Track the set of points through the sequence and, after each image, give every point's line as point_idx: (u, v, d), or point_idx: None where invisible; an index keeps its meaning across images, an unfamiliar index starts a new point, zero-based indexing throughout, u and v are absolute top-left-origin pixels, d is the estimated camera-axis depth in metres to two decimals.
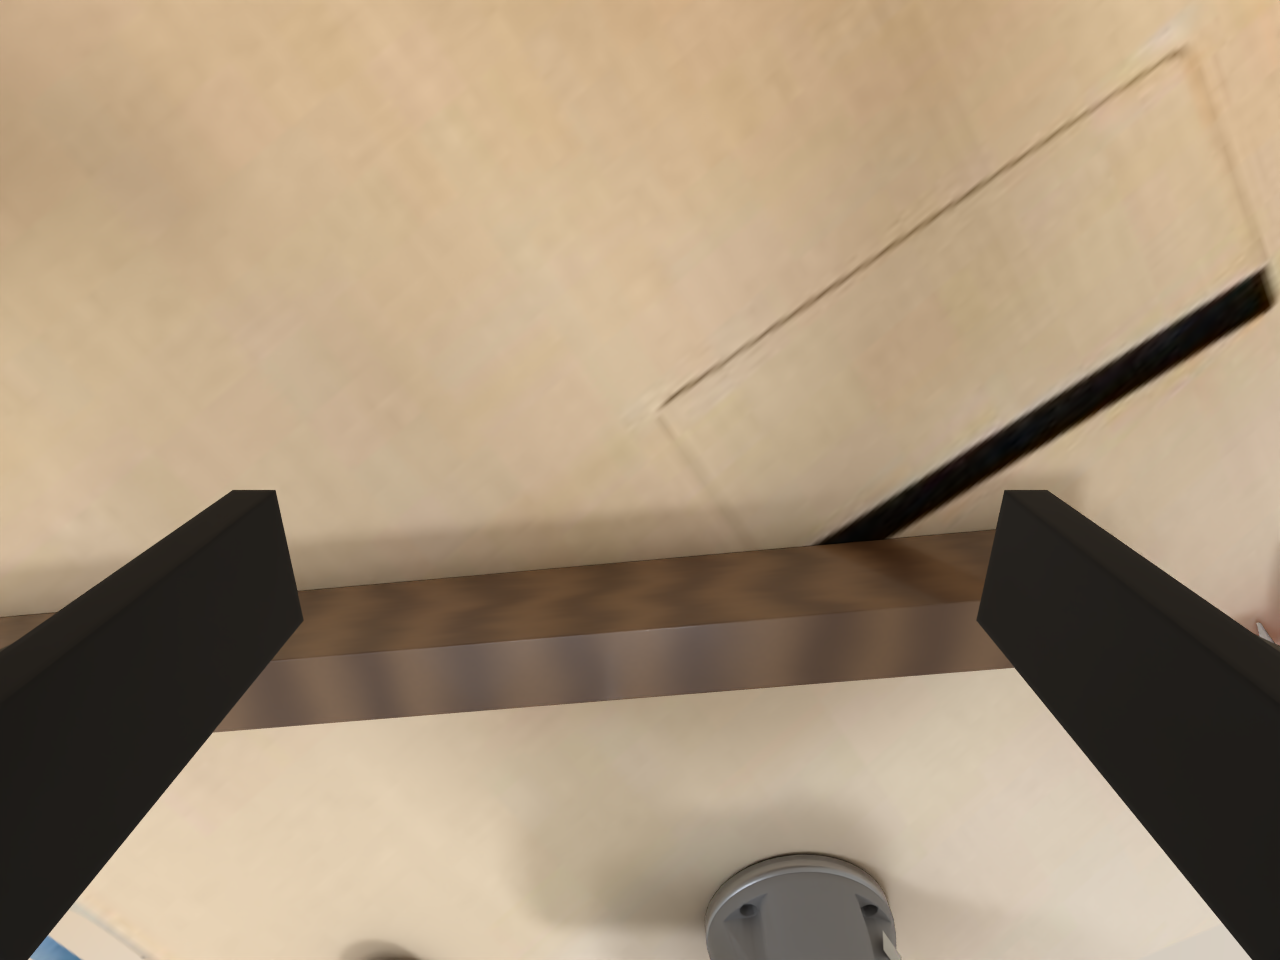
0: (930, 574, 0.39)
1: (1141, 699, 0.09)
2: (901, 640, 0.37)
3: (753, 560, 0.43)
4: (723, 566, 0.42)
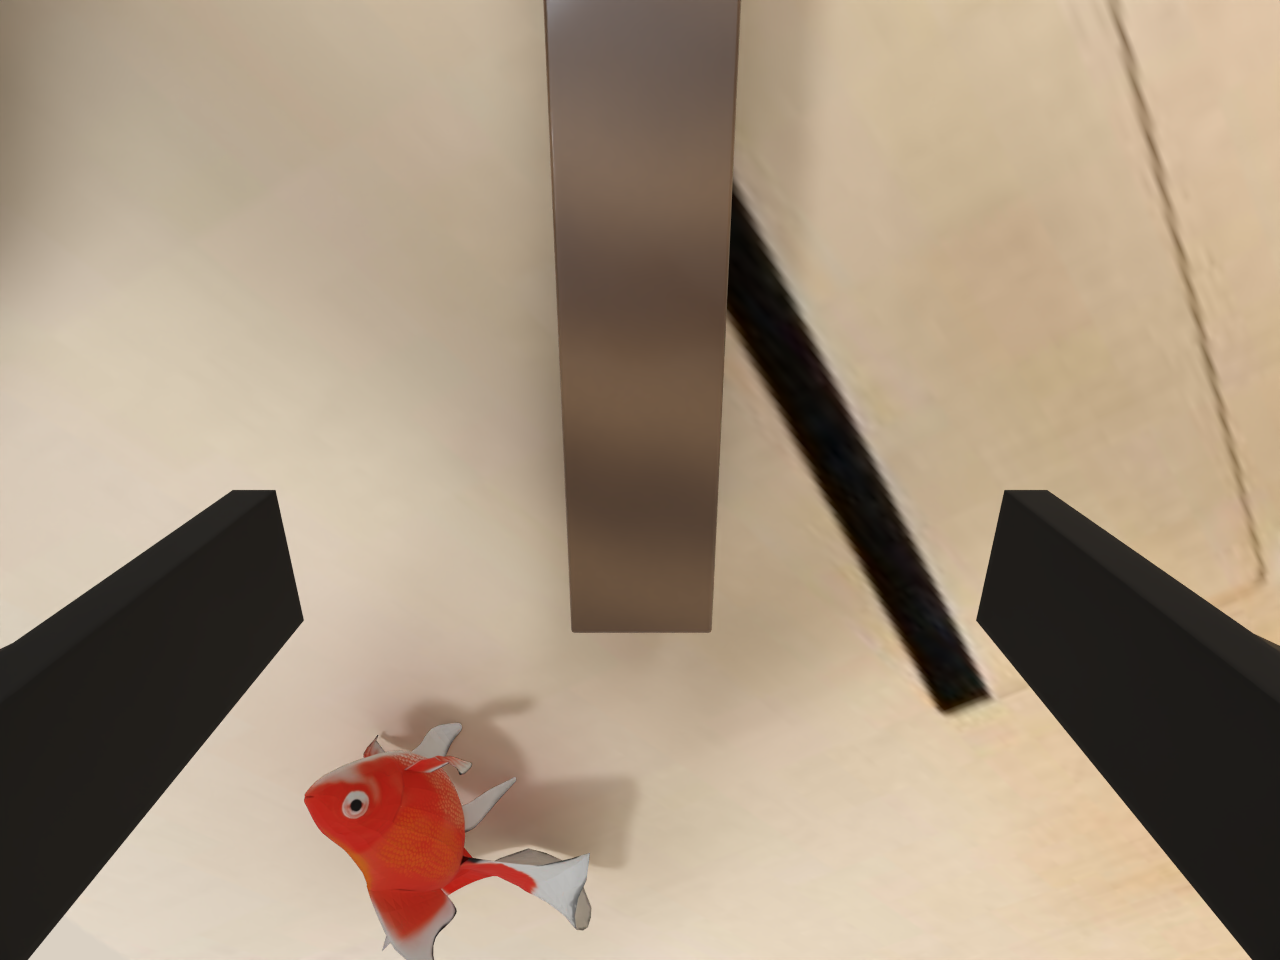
0: None
1: (1141, 699, 0.09)
2: (648, 220, 0.18)
3: None
4: None
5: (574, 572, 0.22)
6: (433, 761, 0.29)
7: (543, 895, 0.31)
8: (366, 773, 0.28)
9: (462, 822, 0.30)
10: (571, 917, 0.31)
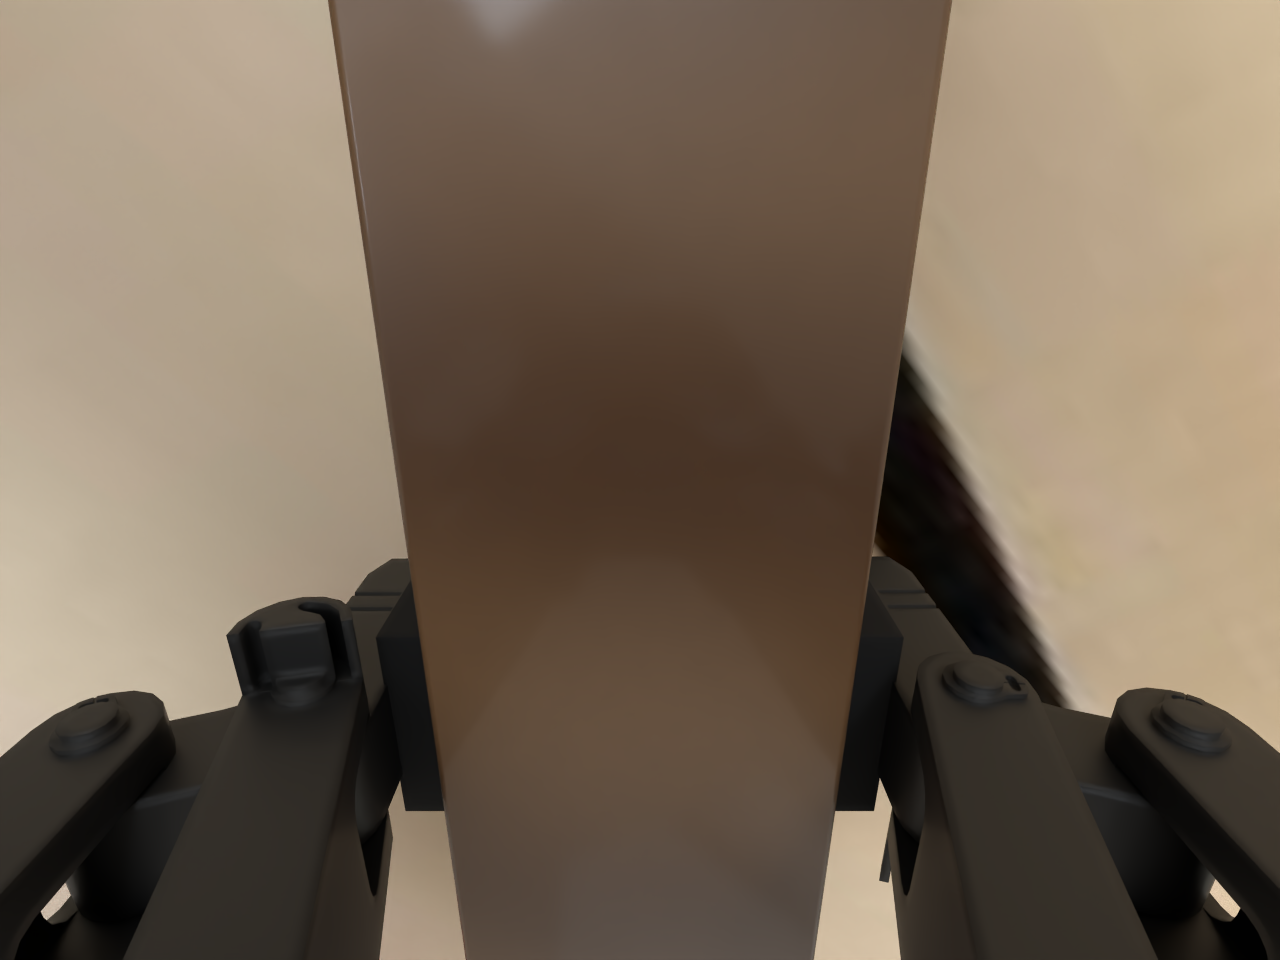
0: None
1: None
2: (661, 249, 0.06)
3: None
4: None
5: None
6: None
7: None
8: None
9: None
10: None
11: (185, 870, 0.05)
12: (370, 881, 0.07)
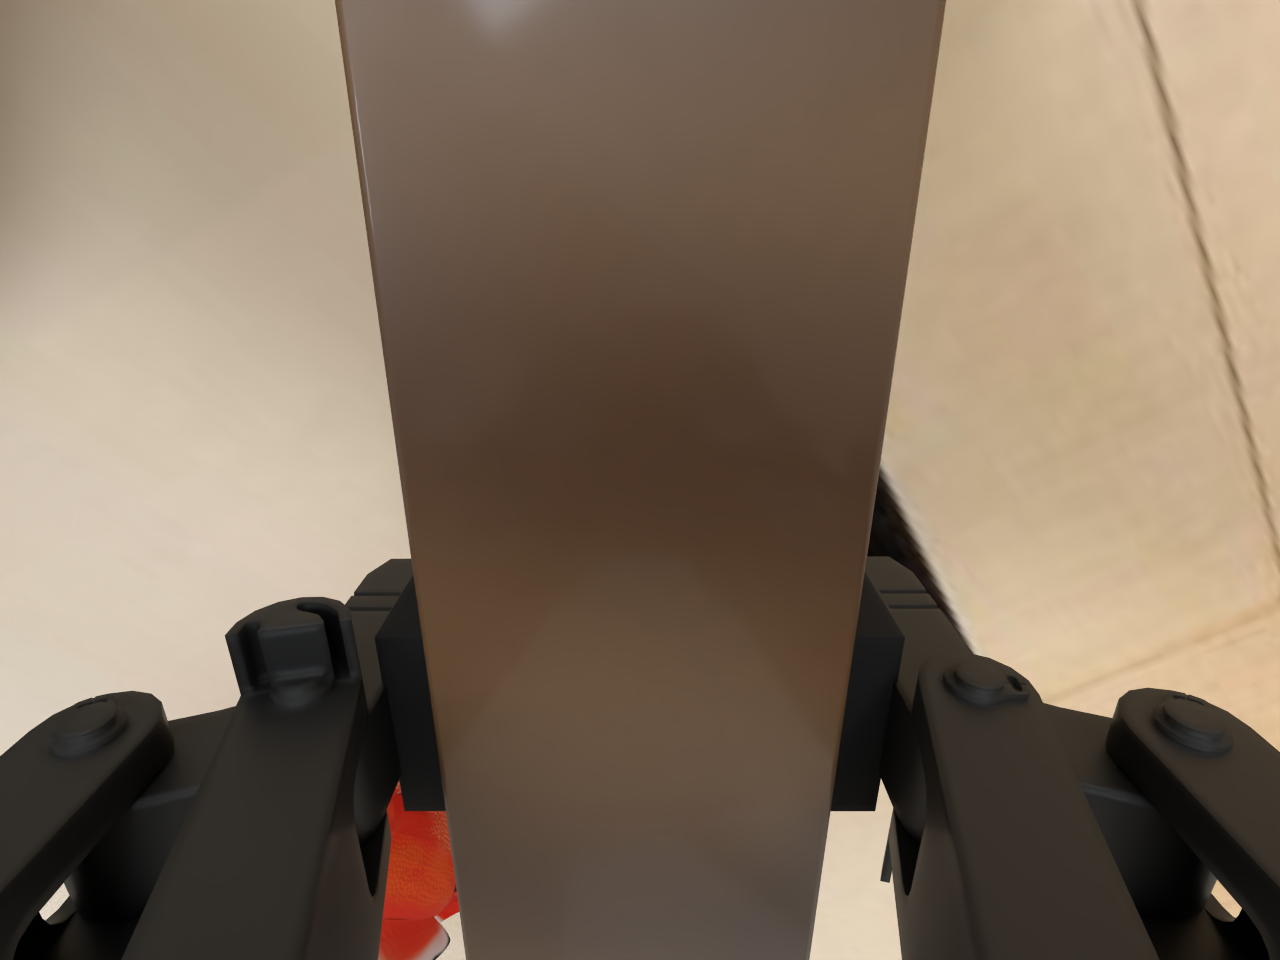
0: None
1: None
2: (661, 247, 0.06)
3: None
4: None
5: None
6: None
7: None
8: None
9: None
10: None
11: (183, 871, 0.05)
12: (369, 881, 0.07)
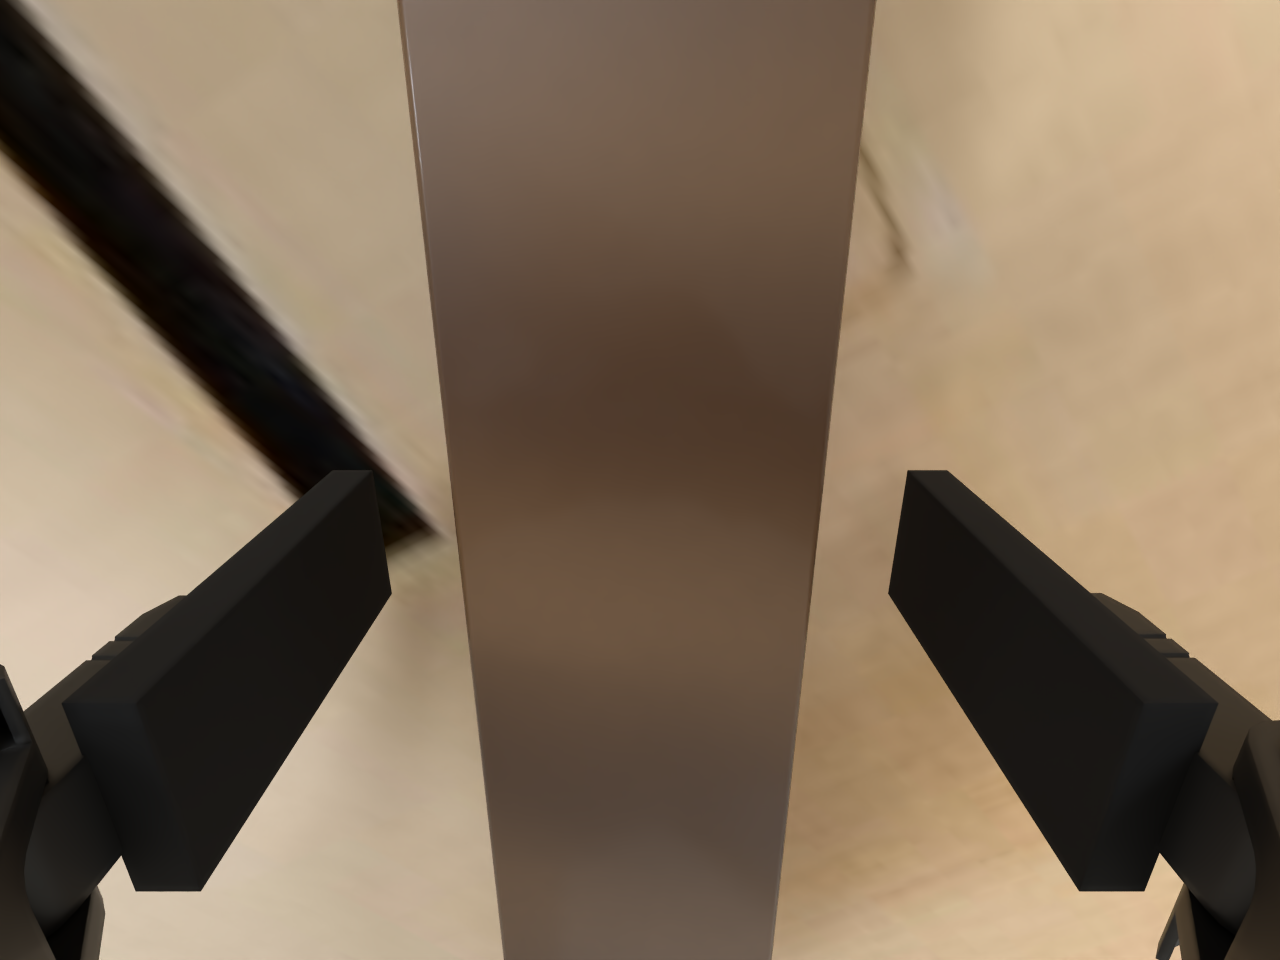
0: None
1: (998, 653, 0.10)
2: (654, 228, 0.07)
3: None
4: None
5: (507, 906, 0.11)
6: None
7: None
8: None
9: None
10: None
11: None
12: None
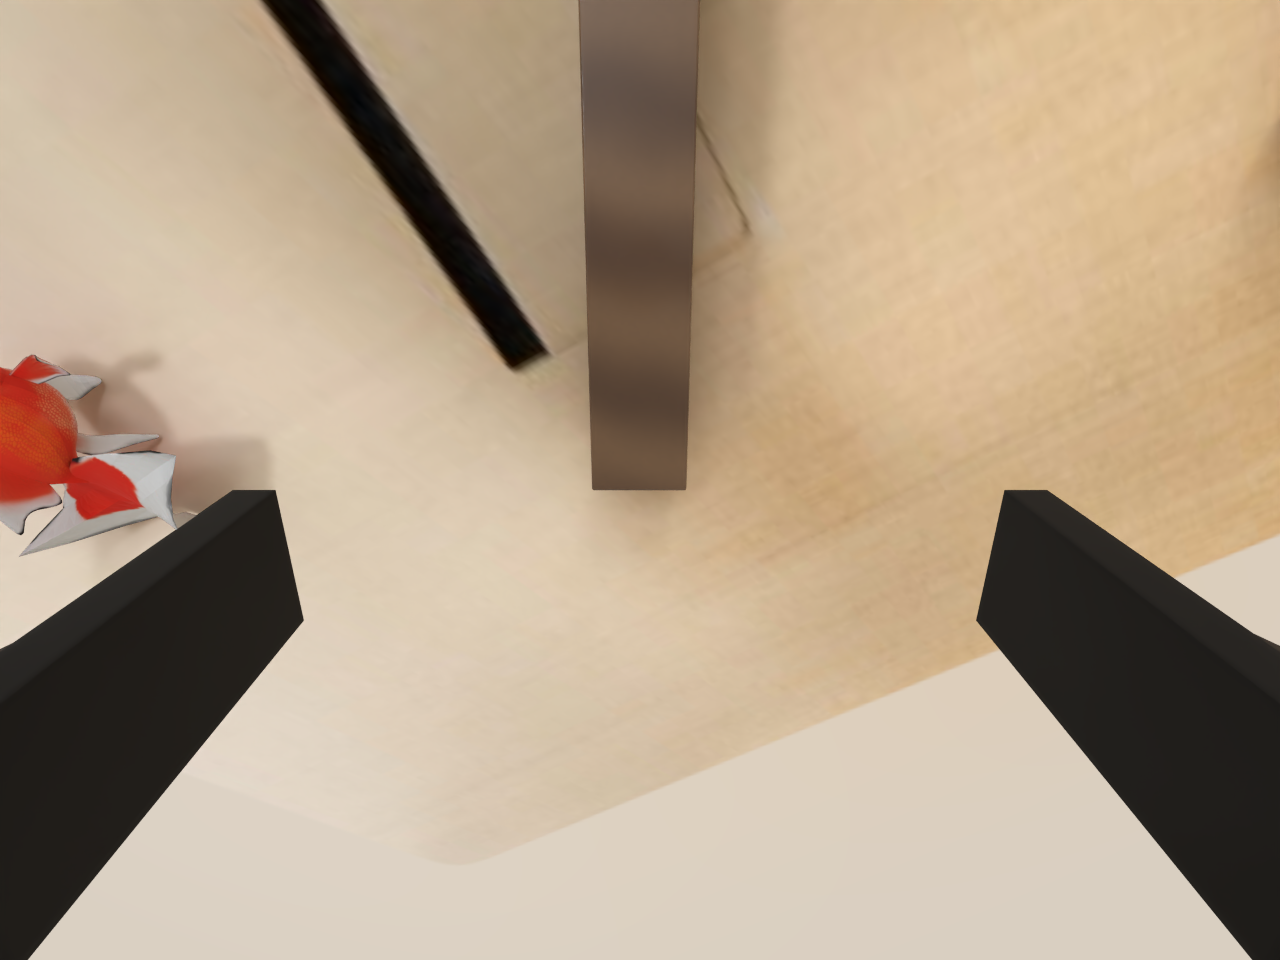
0: None
1: (1139, 699, 0.09)
2: (643, 212, 0.29)
3: None
4: None
5: (594, 446, 0.33)
6: (33, 367, 0.35)
7: (144, 498, 0.37)
8: None
9: (66, 427, 0.36)
10: (172, 522, 0.37)
11: None
12: None
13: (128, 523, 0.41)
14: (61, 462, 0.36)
